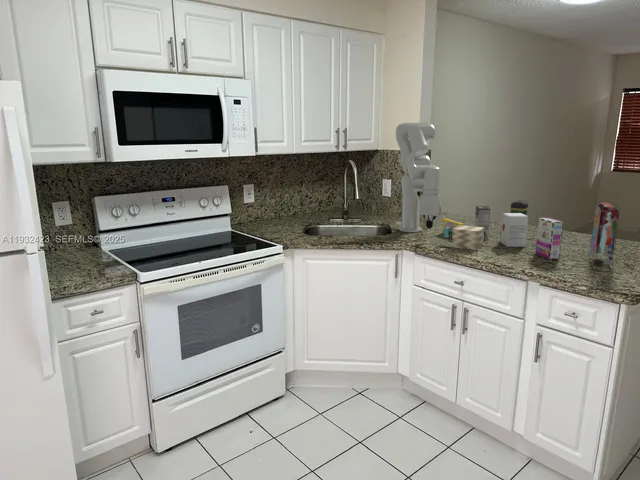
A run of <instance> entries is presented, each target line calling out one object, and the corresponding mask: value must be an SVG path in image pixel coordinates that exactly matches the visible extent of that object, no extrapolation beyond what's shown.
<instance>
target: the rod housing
mask: <svg viewBox="0 0 640 480" xmlns="http://www.w3.org/2000/svg"><path fill="white" fill-rule="evenodd" d="M480 233H482V234H484V227H475V225H474V226H473V225H472V226H471V225H464V226H463V225H458V226H457V227H455V228H453V235H452V236H451V238H452V239H451V248H455V249H456V248H457V249H466V250H474V251H478V250H480V248H483V246H484V240H483V238H480Z"/></svg>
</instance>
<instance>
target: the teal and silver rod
mask: <svg viewBox="0 0 640 480" xmlns="http://www.w3.org/2000/svg"><path fill="white" fill-rule="evenodd" d="M451 235H453V231H451V227H446V228H444V233H443V238H447V239H448V238H450V237H452V236H451ZM483 237H484V234H482V233H480V238H483Z"/></svg>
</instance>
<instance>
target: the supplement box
mask: <svg viewBox="0 0 640 480" xmlns="http://www.w3.org/2000/svg"><path fill="white" fill-rule="evenodd" d="M528 221H529V216H528V215H527V216H526V215H524V214H522V213H510V212H505V213H504V212H503V213H502V221H501V223H502V224H501V225H502V226H501V236H500V238H501V239H500V243H501V244H503V245H504V246H506V247H507V248H510V247H511V248H512V247H513V248H517V247H518V248H519V247H520V248H521V247H523V248H524V247H526V244H527V234H528Z"/></svg>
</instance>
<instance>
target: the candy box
mask: <svg viewBox="0 0 640 480" xmlns="http://www.w3.org/2000/svg"><path fill="white" fill-rule="evenodd" d="M458 225H463V226H465V224H464V223H463V222H459V221H455V220H452V219H449V218H443V219H442V234H444V228H446V227H451V231H453V228H455V227H457V226H458ZM450 237H452V235H451V236H450Z"/></svg>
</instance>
